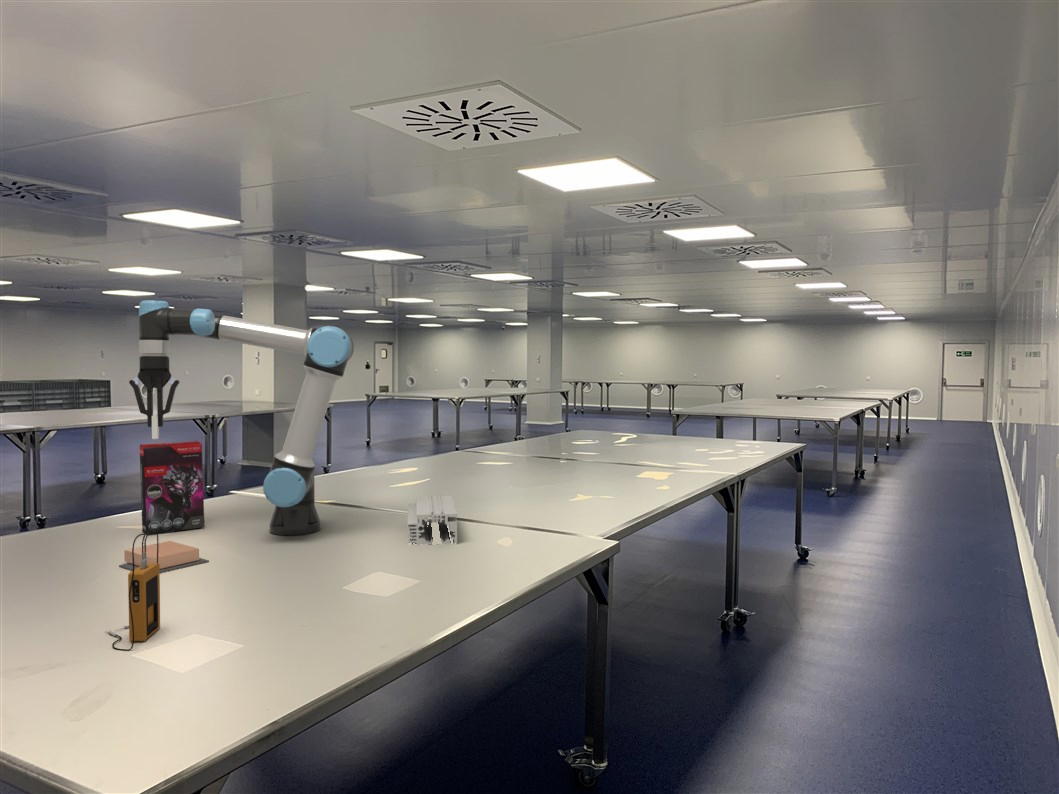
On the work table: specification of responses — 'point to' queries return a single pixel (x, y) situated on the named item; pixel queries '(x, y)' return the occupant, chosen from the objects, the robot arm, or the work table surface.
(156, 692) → the work table surface
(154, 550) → the tile
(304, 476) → the robot arm
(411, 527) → the aluminum extrusion profile
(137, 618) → the multimeter
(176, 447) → the graphics card box
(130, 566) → the mat
